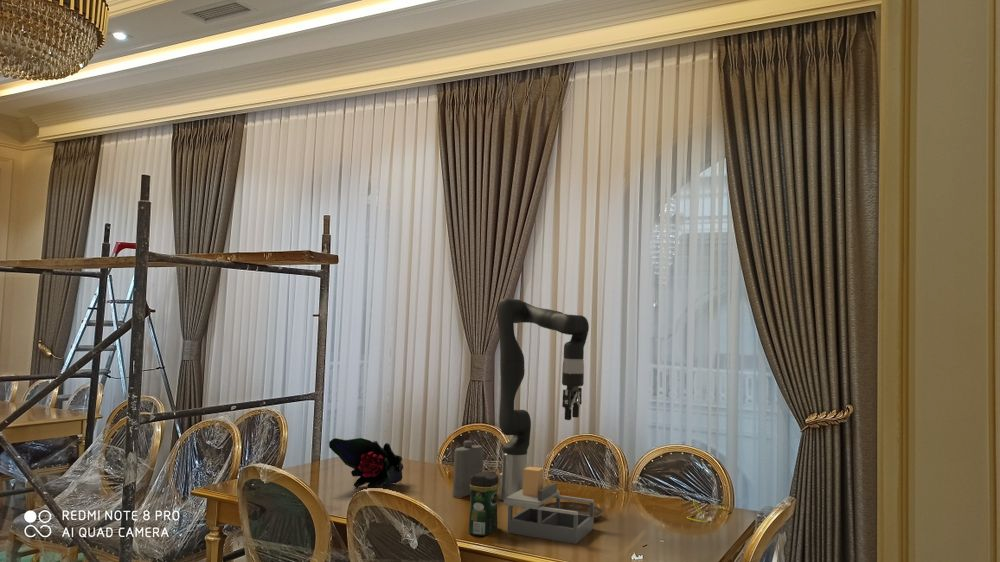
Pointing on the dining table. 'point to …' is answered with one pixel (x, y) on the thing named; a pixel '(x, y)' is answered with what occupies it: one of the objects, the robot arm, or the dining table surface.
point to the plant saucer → (577, 508)
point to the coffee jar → (483, 503)
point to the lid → (533, 497)
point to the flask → (466, 467)
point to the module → (532, 480)
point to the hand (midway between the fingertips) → (571, 418)
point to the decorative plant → (369, 461)
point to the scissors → (699, 512)
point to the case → (552, 522)
